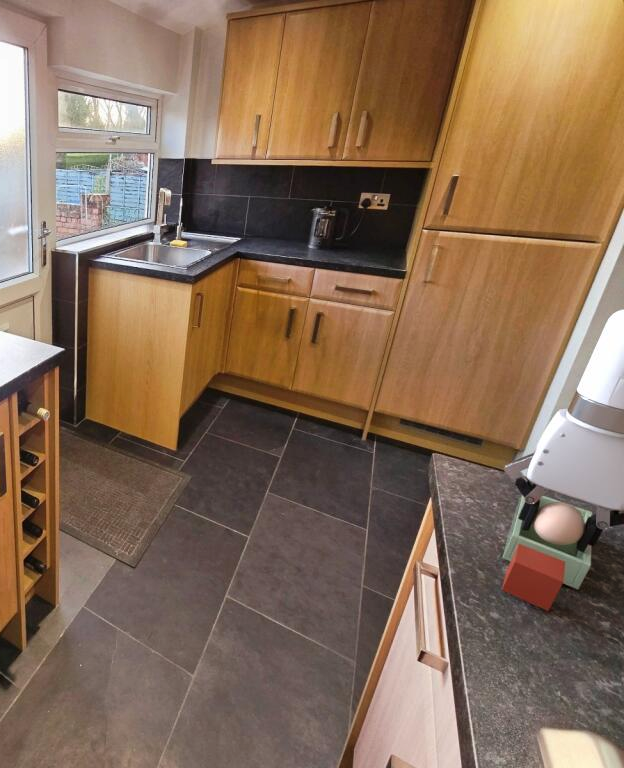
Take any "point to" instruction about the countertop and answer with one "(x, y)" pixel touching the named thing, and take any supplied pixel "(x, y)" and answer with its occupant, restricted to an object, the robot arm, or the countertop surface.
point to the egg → (559, 523)
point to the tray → (550, 546)
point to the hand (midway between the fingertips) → (552, 534)
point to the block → (534, 577)
